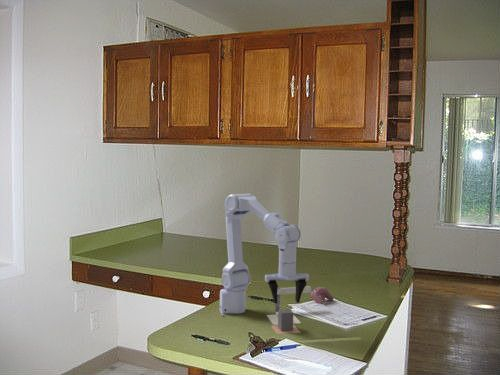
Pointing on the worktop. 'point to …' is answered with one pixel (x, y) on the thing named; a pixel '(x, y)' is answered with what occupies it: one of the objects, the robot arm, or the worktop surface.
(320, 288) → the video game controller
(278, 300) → the socket
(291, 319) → the plug
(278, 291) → the white square rod
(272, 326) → the tile
